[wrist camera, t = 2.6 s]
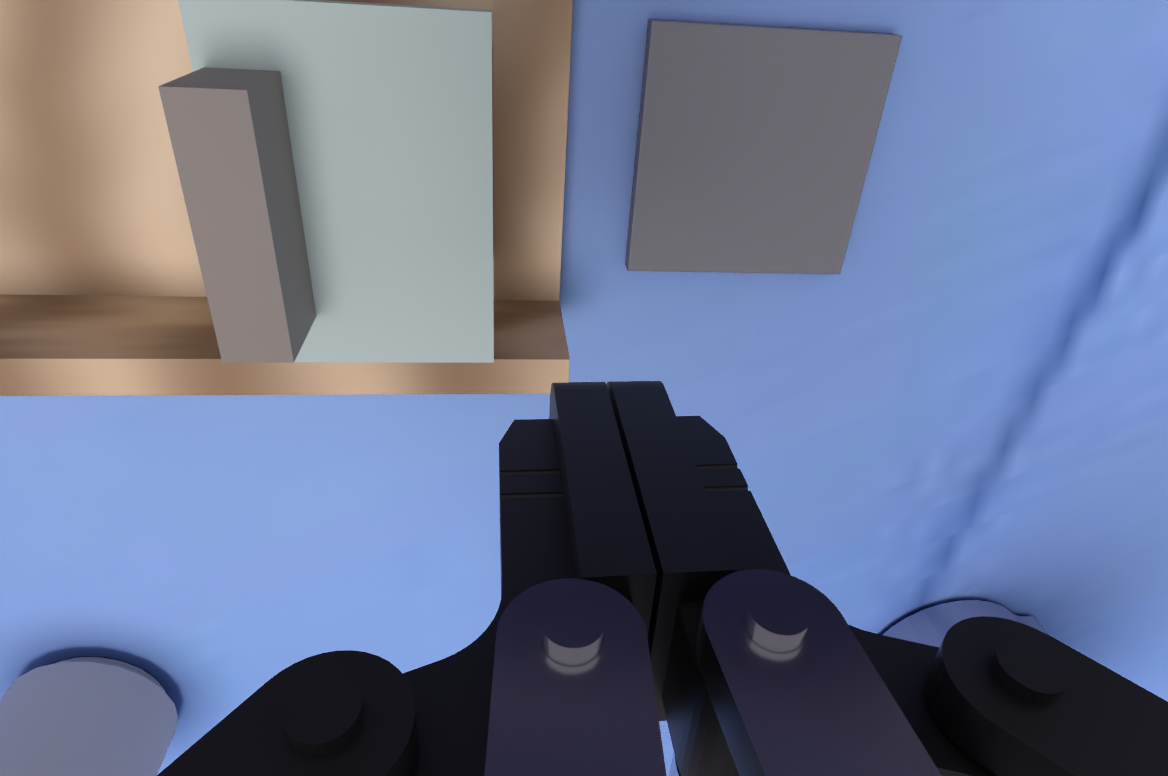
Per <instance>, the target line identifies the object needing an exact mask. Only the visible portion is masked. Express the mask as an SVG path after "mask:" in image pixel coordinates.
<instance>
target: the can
mask: <svg viewBox="0 0 1168 776" xmlns="http://www.w3.org/2000/svg"><path fill="white" fill-rule="evenodd" d="M177 722H178V715H177V711H176V707H175V704H174V702H173V701H172V700H171V699H170V698H169V696H168V695H167V694H166V692H165V689H164V688H163V687H162V686H161V685H160V683H159V682H158V681H157V680H156V678H154V677H153V676H151V675H150V674H148V673H147V672H145V671H144V670H142V669H141V668H138V667H135V666H133V665H130V664H128V663H125V662H122V661H118V660H113V659H107V658H101V657H77V658H72V659H68V660H63V661H59V662H57V663H55V664H50V665H46V666H41V667H37V668H35V669H33V670H31V671H29V672H27V673H25V674H23V675H21V676H19V677H18V678H17V679H16V680H15V681H14V683H13V684H12V685H11V686H10V688H9V689H8V690H7V691H6V693H5V695H4V696H3V698H2V699H1V701H0V776H157V774H158V771H159V769H160V766H161V764H162V761H163V759H164V756H165V754H166V752H167V749H168V747H169V744H170V742H171V739H172V737H173V734H174V732H175V729H176V725H177Z"/></svg>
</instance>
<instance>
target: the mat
mask: <svg viewBox="0 0 1168 776" xmlns="http://www.w3.org/2000/svg"><path fill="white" fill-rule="evenodd" d="M901 39H902V36H901V35H896V34H888V33H871V32H854V31H837V30H821V29H804V28H787V27H770V26H753V25H736V24H719V23H702V22H686V21H669V20H652V19H649V20H648V30H647V41H646V51H645V62H644V72H643V83H642V94H641V104H640V115H639V125H638V136H637V146H636V157H635V167H634V178H633V188H632V199H631V209H630V220H629V231H628V241H627V252H626V262H625V265H626V267H627V270H628V271H678V272H739V273H799V274H840V272H841V268H842V264H843V261H844V257H845V253H846V249H847V245H848V241H849V238H850V234H851V230H852V226H853V222H854V219H855V215H856V211H857V207H858V203H859V199H860V196H861V192H862V188H863V184H864V180H865V176H866V173H867V169H868V165H869V161H870V157H871V154H872V150H873V146H874V142H875V138H876V134H877V131H878V127H879V123H880V119H881V115H882V111H883V108H884V104H885V100H886V96H887V92H888V89H889V85H890V81H891V77H892V73H893V69H894V66H895V62H896V58H897V54H898V50H899V46H900V43H901Z"/></svg>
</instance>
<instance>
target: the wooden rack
mask: <svg viewBox="0 0 1168 776" xmlns="http://www.w3.org/2000/svg"><path fill="white" fill-rule="evenodd" d="M327 1H344V2H361V3H378V4H395V5H412V6H429V7H445V8H462V9H479V10H492V133H493V291H494V363H397V362H294V363H222V360H221V355H220V351H219V347H218V342H217V338H216V334H215V329H214V325H213V321H212V316H211V312H210V308H209V303H208V299H207V295H206V291H205V286H204V282H203V278H202V273H201V269H200V265H199V260H198V256H197V252H196V247H195V243H194V239H193V234H192V230H191V226H190V221H189V217H188V213H187V209H186V204H185V200H184V196H183V191H182V187H181V183H180V178H179V174H178V170H177V165H176V161H175V157H174V152H173V148H172V144H171V139H170V135H169V131H168V127H167V122H166V118H165V114H164V109H163V105H162V101H161V96H160V92H159V88H158V86H160V85H163V84H165V83H167V82H170V81H172V80H175V79H177V78H179V77H182V76H184V75H187V74H189V73H191V72H193V71H192V66H191V61H190V56H189V51H188V46H187V41H186V37H185V32H184V27H183V22H182V17H181V12H180V8H179V3H178V0H0V396H90V395H331V394H550V392H551V384H552V383H568V380H569V362H570V359H569V353H568V348H567V342H566V336H565V331H564V325H563V319H562V314H561V308H560V302H559V295H560V273H561V251H562V229H563V207H564V185H565V163H566V141H567V119H568V97H569V75H570V53H571V31H572V9H573V0H327Z"/></svg>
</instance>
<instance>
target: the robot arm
mask: <svg viewBox="0 0 1168 776" xmlns="http://www.w3.org/2000/svg"><path fill="white" fill-rule="evenodd" d="M499 478H500V550H501V602H500V606H499V609H498V611H497V613H496V616H495V618H494V620H493V621H492V622H491V624H490V625H489V627H488V628H487V629H486V630H485V632H484V633H483V634H482V635H481V636H480V637H479V638H478V639H477V640H475V641H474V642H473V643H471V644H470V645H469V646H467V647H466V648H464V649H463V650H461V651H459V652H457V653H456V654H454V655H452V656H449V657H447V658H445V659H442V660H440V661H437V662H434V663H431V664H429V665H426V666H423V667H420V668H417V669H414V670H412V671H409V672H406V673H403V674H402V673H401V672H400V670H399V669H398V668H396V667H395V666H394V665H393V664H391V663H390V662H389V661H387V660H385V659H383V658H381V657H379V656H376V655H373V654H370V653H366V652H360V651H333V652H327V653H322V654H319V655H315V656H312V657H309V658H306V659H304V660H301V661H299V662H297V663H295V664H293V665H291V666H289V667H288V668H286V669H284V670H282V671H281V672H279V673H278V674H277V675H275V676H274V677H273V678H271V679H270V680H269V681H268V682H266V683H265V684H264V685H263V686H262V687H261V688H259V689H258V690H257V691H256V692H255V693H253V694H252V695H251V696H250V697H249V698H248V699H246V700H245V701H244V702H243V703H242V704H241V705H239V706H238V707H237V708H236V709H235V710H234V711H232V712H231V713H230V714H229V715H228V716H226V717H225V718H224V719H223V720H222V721H221V722H219V723H218V724H217V725H216V726H215V727H214V728H212V729H211V730H210V731H209V732H208V733H207V734H205V735H204V736H203V737H202V738H201V739H199V740H198V741H197V742H196V743H195V744H194V745H192V746H191V747H190V748H189V749H188V750H187V751H185V752H184V753H183V754H182V755H181V756H180V757H178V758H177V759H176V760H175V761H174V762H172V763H171V764H170V765H169V766H168V767H167V768H165V769H164V770H163V771H162V772H161V773H160V774H158V775H157V776H666V769H665V762H664V754H663V747H662V740H661V733H660V725H659V721H665V720H667V723H668V727H669V732H670V736H671V740H672V745H673V749H674V753H673V758H672V763H671V768H670V775H669V776H1168V702H1167V701H1165V700H1163V699H1162V698H1160V697H1158V696H1156V695H1154V694H1153V693H1151V692H1149V691H1147V690H1146V689H1144V688H1142V687H1140V686H1138V685H1137V684H1135V683H1133V682H1131V681H1130V680H1128V679H1126V678H1124V677H1122V676H1121V675H1119V674H1117V673H1115V672H1113V671H1112V670H1110V669H1108V668H1106V667H1105V666H1103V665H1101V664H1099V663H1097V662H1096V661H1094V660H1092V659H1090V658H1088V657H1087V656H1085V655H1083V654H1081V653H1080V652H1078V651H1076V650H1074V649H1072V648H1071V647H1069V646H1067V645H1065V644H1063V643H1062V642H1060V641H1058V640H1056V639H1055V638H1053V637H1051V636H1049V635H1048V634H1047V633H1046V632H1045V630H1044V629H1043V628H1042V627H1041V625H1040V624H1039V623H1038V622H1037V620H1036V619H1035V618H1034V617H1033V616H1017V615H1015V614H1013V613H1012V612H1010V611H1009V610H1008V609H1006V608H1005V607H1003V606H1001V605H998V604H995V603H993V602H988V601H981V600H959V601H954V602H948V603H943V604H939V605H936V606H933V607H930V608H927V609H924V610H921V611H919V612H917V613H915V614H913V615H911V616H908V617H906V618H905V619H903V620H902V621H900V622H898V623H897V624H895V625H894V626H892V627H891V628H890V629H888V630H887V631H886V632H885V633H884V634H883V635H879V634H875V633H871V632H868V631H864V630H861V629H858V628H855V627H853V626H850V625H848V624H847V622H846V620H845V619H844V617H843V616H842V614H841V613H840V611H839V610H838V609H837V607H836V606H835V605H834V604H833V603H832V602H831V601H830V600H829V599H828V598H827V597H826V596H825V595H824V594H823V593H821V592H820V591H819V590H818V589H816V588H815V587H813V586H811V585H810V584H808V583H806V582H804V581H802V580H800V579H798V578H796V577H793V576H791V575H790V573H789V571H788V568H787V566H786V564H785V562H784V560H783V558H782V556H781V554H780V552H779V550H778V548H777V545H776V543H775V541H774V539H773V537H772V535H771V533H770V531H769V529H768V527H767V525H766V522H765V520H764V518H763V516H762V514H761V512H760V510H759V508H758V506H757V504H756V502H755V500H754V497H753V495H752V493H751V491H748V485H747V483H746V481H745V479H744V477H743V474H742V472H741V470H740V469H738V468H737V462H736V460H735V458H734V456H733V454H732V451H731V449H730V447H729V445H728V443H727V441H726V439H725V437H723V436H722V435H721V434H720V433H719V432H718V431H716V430H715V429H714V428H713V427H712V426H711V425H709V424H708V423H707V422H706V421H705V420H704V419H703V418H701V417H700V416H676V415H675V413H674V410H673V408H672V405H671V403H670V400H669V398H668V395H667V392H666V390H665V387H664V385H663V383H662V382H661V381H629V382H608V383H607V385H606V383H605V382H569V383H552V384H551V392H550V417H549V419H534V420H514V421H513V423H512V424H511V426H510V427H509V429H508V431H507V432H506V434H505V435H504V437H503V438H502V440H501V441H500V443H499Z"/></svg>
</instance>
